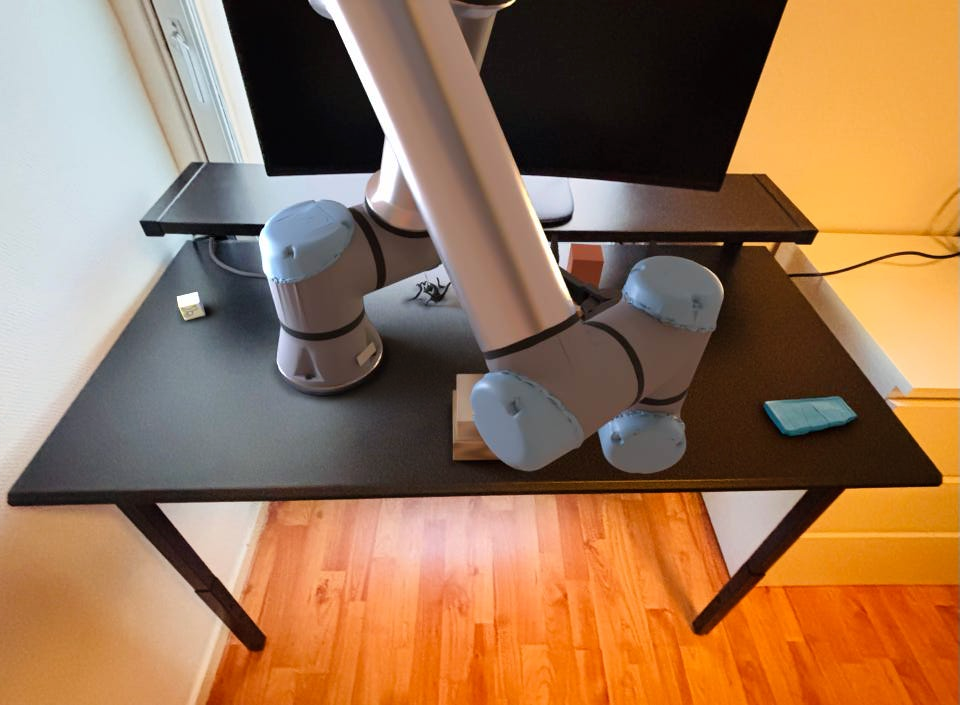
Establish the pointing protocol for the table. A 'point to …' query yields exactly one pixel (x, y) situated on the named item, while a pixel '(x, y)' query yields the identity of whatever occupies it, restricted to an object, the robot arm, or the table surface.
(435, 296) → the creature
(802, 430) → the sponge
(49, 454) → the table surface
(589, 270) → the pillar block
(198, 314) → the alphabet block
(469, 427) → the slab stack
